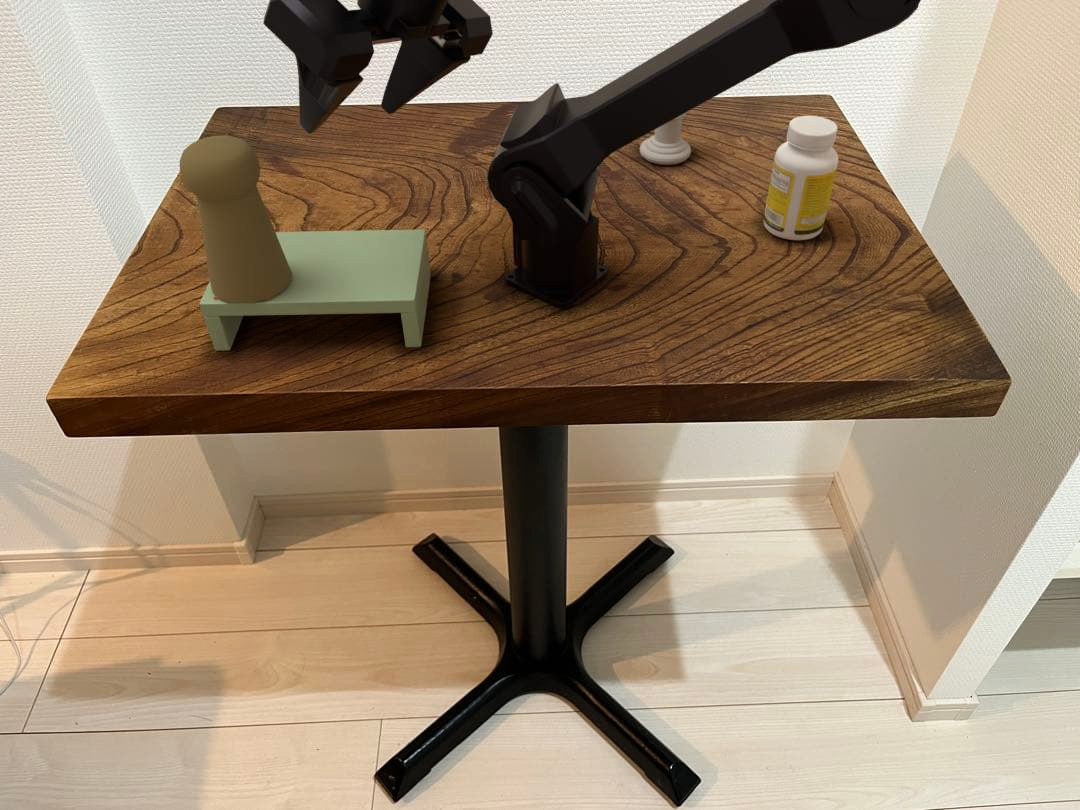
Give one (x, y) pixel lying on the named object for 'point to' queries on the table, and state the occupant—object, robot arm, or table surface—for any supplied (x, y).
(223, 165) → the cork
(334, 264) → the shelf
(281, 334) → the table surface
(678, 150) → the chess piece
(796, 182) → the supplement bottle
